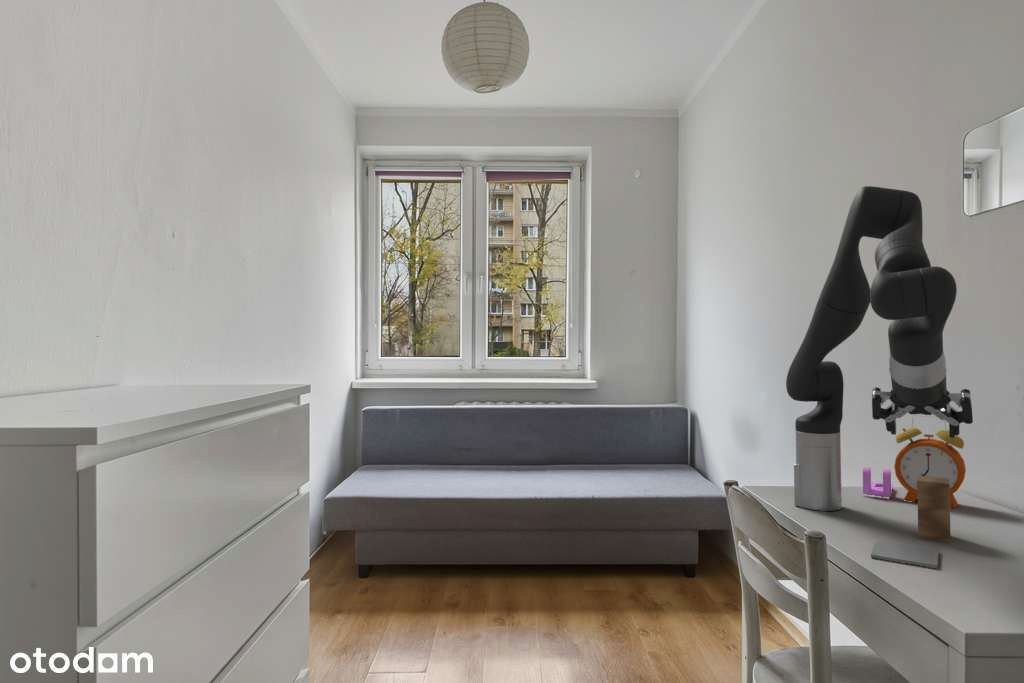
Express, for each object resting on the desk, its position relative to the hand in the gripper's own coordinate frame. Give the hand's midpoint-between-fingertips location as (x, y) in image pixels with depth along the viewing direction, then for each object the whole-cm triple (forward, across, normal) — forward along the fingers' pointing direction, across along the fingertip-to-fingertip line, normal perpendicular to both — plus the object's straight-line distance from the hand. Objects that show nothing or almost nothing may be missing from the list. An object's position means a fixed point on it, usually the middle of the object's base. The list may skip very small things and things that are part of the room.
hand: (922, 432), depth 107 cm
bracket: (+48, +11, -18) cm, 52 cm away
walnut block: (+24, -1, +6) cm, 25 cm away
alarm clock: (+45, 0, -14) cm, 47 cm away
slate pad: (+13, +3, +17) cm, 22 cm away
